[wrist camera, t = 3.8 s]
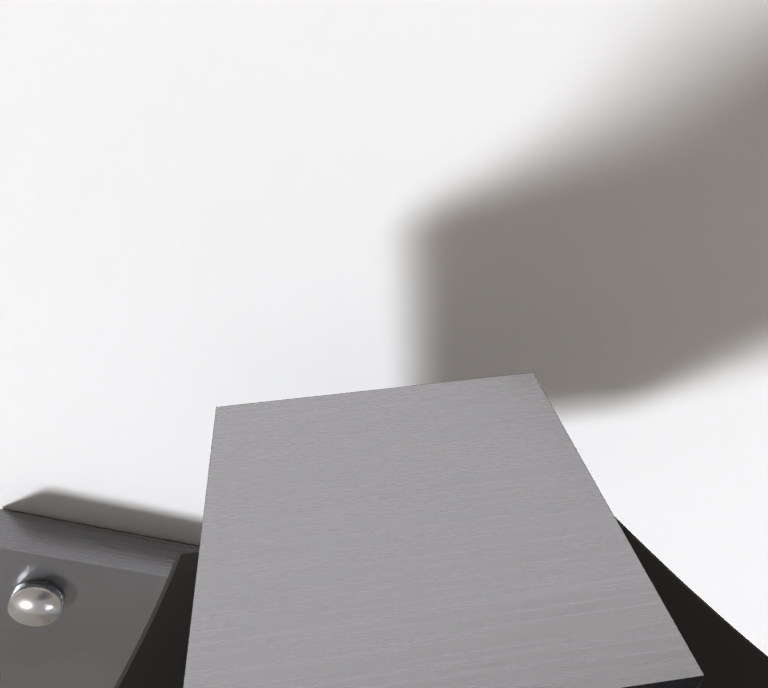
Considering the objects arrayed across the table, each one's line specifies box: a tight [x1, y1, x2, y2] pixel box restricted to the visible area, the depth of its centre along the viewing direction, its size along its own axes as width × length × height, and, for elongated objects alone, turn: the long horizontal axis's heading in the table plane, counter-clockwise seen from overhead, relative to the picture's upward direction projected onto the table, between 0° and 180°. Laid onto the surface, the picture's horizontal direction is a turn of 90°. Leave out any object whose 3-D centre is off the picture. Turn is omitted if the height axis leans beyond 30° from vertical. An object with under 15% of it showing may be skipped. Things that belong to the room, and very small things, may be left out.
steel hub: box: [183, 373, 704, 688], centre depth 10 cm, size 5×5×5 cm
